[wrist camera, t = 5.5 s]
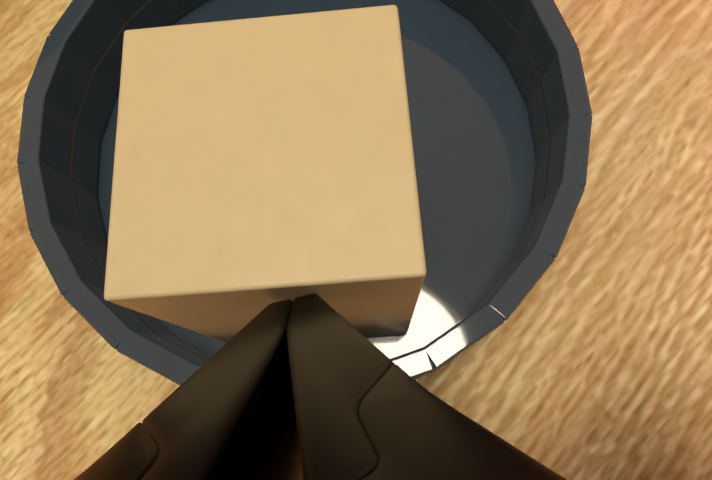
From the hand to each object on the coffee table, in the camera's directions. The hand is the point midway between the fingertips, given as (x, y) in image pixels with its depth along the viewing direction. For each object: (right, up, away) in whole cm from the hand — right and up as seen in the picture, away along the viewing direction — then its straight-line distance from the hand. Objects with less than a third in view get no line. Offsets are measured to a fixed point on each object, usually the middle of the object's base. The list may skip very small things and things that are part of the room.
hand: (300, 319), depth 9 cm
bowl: (0, +4, +8) cm, 9 cm away
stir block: (0, +1, +7) cm, 7 cm away
